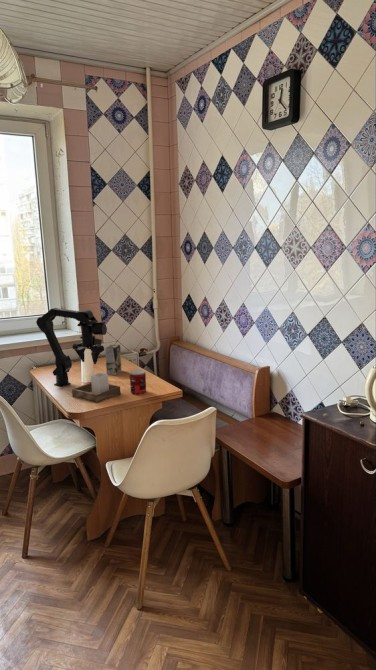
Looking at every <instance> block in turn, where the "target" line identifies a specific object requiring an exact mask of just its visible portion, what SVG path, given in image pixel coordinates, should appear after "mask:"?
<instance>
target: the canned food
mask: <svg viewBox="0 0 376 670" xmlns="http://www.w3.org/2000/svg"><path fill="white" fill-rule="evenodd" d="M146 378H147V377H146V370H145V369H144V370H143V369H133V370H131V371H129V383H130V384H129V385H130V393H131V394H132V395H144V394H146V393H147V379H146Z"/></svg>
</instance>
